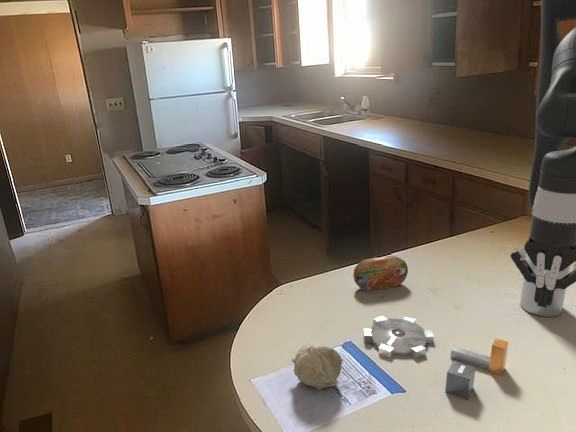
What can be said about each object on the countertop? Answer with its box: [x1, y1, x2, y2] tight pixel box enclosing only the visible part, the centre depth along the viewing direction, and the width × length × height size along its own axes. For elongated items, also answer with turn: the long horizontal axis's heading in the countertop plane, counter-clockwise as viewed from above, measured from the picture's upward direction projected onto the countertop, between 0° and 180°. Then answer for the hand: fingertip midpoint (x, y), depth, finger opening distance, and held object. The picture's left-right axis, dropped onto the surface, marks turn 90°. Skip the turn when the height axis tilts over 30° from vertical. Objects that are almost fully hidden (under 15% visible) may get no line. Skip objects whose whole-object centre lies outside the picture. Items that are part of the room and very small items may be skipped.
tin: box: [353, 255, 409, 292], centre depth 131 cm, size 15×3×8 cm, turn 105°
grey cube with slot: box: [444, 360, 476, 401], centre depth 90 cm, size 4×4×5 cm
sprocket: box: [363, 315, 435, 359], centre depth 107 cm, size 15×14×2 cm
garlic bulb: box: [291, 341, 343, 391], centre depth 93 cm, size 9×8×10 cm
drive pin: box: [450, 337, 509, 376], centre depth 97 cm, size 3×10×6 cm, turn 56°
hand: (542, 305), depth 88 cm, fingers closed
